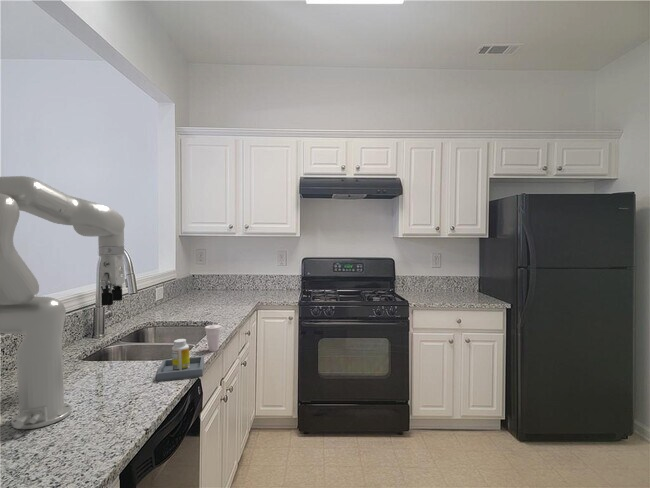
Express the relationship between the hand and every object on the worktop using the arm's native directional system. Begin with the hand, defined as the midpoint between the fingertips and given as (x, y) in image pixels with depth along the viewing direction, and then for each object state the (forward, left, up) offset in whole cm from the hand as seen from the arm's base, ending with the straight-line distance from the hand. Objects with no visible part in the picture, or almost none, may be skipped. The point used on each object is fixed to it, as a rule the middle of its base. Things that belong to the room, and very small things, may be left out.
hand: (112, 302), depth 129 cm
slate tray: (-3, -22, -25) cm, 33 cm away
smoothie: (+19, -32, -25) cm, 45 cm away
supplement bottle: (-3, -21, -24) cm, 32 cm away
